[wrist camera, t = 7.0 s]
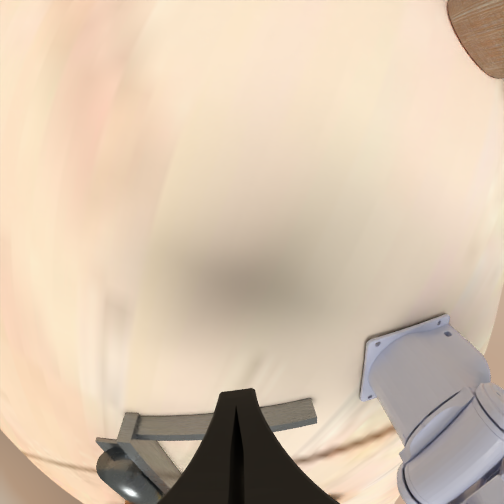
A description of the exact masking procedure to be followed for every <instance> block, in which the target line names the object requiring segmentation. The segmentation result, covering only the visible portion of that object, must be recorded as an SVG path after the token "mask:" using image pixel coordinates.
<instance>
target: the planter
mask: <svg viewBox="0 0 504 504" xmlns="http://www.w3.org/2000/svg"><path fill="white" fill-rule="evenodd" d="M448 12H449V16H450V19H451V22H452V25H453V27H454V30H455V32H456V34H457V36H458V38H459V39H460V41H461V43H462V44H463V46H464V47H465V49H466V50H467V52H468V53H469V55H470V56H471V57H472V59H473V60H474V61H475V62H476V63H477V64H478V66H479V67H480V68H481V69H482V70H484V71H485V72H486V73H487V74H489V75H490V76H492V77H494V78H498V79H499V78H504V0H449V1H448Z"/></svg>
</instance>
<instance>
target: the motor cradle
mask: <svg viewBox="0 0 504 504" xmlns="http://www.w3.org/2000/svg"><path fill="white" fill-rule="evenodd" d="M260 409H261V411H262V414H263V416H264V418H265V420H266V421H267V423H268V425H269V427H270V429H271V430H272V432H276V431H282V430H287V429H293V428H297V427H302V426H307V425H311V424H315V423H317V416H316V413H315V410H314V407H313V404H312V401H311V398H309V399H305V400H300V401H295V402H291V403H285V404H280V405H274V406H269V407H262V408H260ZM212 417H213V414H201V415H184V416H140V415H139V414H138V413H125V416H124V419H123V422H122V425H121V428H120V431H119V435H118V438H117V440H112V439H103V438H96V442H97V444H98V445H99V446H100V447H101V448H102V449H103V450H104V453H103V454H102V455H101V456H100V457H99V459H98V461H97V466H96V469H97V473H98V475H99V477H100V478H101V479H102V480H103V481H104V482H105V483H106V484H107V485H109V486H110V487H111V488H112V489H113V490H114V491H116V492H117V493H118V494H119V495H121V496H122V497H123V498H124V499H126V500H127V501H128V502H130V503H131V504H157V503H158V502H159V501H160V499H161V498H162V497H163V496H164V495H165V494H166V493H167V492H168V491H169V490H170V489H171V488H172V486H173V485H174V484H175V483H176V481H177V480H178V479H179V477H180V476H181V475H182V474H181V473H180V472H179V470H178V469H177V468H176V466H175V465H174V464H173V463H172V461H171V460H170V459H169V457H168V456H167V455H166V453H165V452H164V451H163V449H162V448H161V447H160V445H159V444H158V442H157V441H156V440H158V441H183V440H203V438H204V436H205V434H206V431H207V429H208V427H209V424H210V422H211V419H212Z"/></svg>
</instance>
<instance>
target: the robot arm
mask: <svg viewBox="0 0 504 504" xmlns="http://www.w3.org/2000/svg"><path fill="white" fill-rule="evenodd" d="M449 320H450V316H449V315H448V314H444V315H442V316H439V317H436V318H434V319H431V320H428V321H426V322H423V323H420V324H417V325H414V326H411V327H408V328H405V329H402V330H399V331H396V332H393V333H390V334H386V335H383V336H380V337H377V338H373V339H370V340H369V341H368V342H367V344H366V352H365V361H364V370H363V378H362V385H361V392H360V400H361V401H367V400H370V399H373V398H376V397H377V398H378V400H379V401H380V403H381V405H382V407H383V409H384V410H385V412H386V414H387V416H388V417H389V419H390V421H391V423H392V425H393V426H394V428H395V430H396V432H397V434H398V435H399V437H400V439H401V441H402V443H403V445H404V446H405V448H404V449H403V450H402V451H401V452H400V453H399V455H400V457H401V459H402V461H403V463H402V464H401V465H400V467H399V469H398V472H397V485H398V490H399V493H400V495H401V497H402V499H403V500H404V502H405V503H406V504H504V390H503V389H502V388H501V387H499V386H498V385H496V384H494V383H491V382H490V381H491V375H490V369H489V366H488V364H487V361H486V359H485V358H484V356H483V355H482V354H481V353H480V352H479V351H478V350H477V349H476V348H475V347H474V346H473V345H472V344H471V343H470V342H469V341H468V340H466V339H465V338H464V337H463V336H462V335H461V334H460V333H459V332H457V331H456V330H455V329H454V328H453V327H452V326H451V325H450V324H449ZM377 342H378V343H377ZM376 343H377V344H376ZM157 504H340V503H338V502H337V501H335V500H334V499H333V498H332V497H330V496H329V495H328V494H327V493H325V492H324V491H323V490H322V489H321V488H319V487H318V486H317V485H316V484H315V483H314V482H313V481H312V480H311V479H310V478H309V477H308V476H307V475H306V474H305V473H304V472H303V471H302V470H301V469H300V468H299V467H298V466H297V465H296V463H295V462H294V461H293V460H292V459H291V457H290V456H289V455H288V454H287V452H286V451H285V450H284V448H283V447H282V446H281V444H280V443H279V441H278V440H277V438H276V437H275V435H274V434H273V432H272V430H271V429H270V427H269V425H268V423H267V421H266V420H265V418H264V416H263V414H262V411H261V409H260V407H259V404H258V401H257V397H256V393H255V390H254V389H252V388H249V389H242V390H235V391H227V392H221V393H220V394H219V398H218V402H217V405H216V408H215V411H214V414H213V417H212V419H211V422H210V424H209V427H208V429H207V431H206V434H205V436H204V438H203V440H202V442H201V444H200V446H199V448H198V450H197V451H196V453H195V455H194V457H193V458H192V460H191V462H190V463H189V465H188V466H187V468H186V469H185V471H184V472H183V473H182V475H181V476H180V477H179V479H178V480H177V481H176V483H175V484H174V485H173V486H172V488H171V489H170V490H169V491H168V492H167V493H166V494H165V495H164V496H163V497H162V498H161V499H160V501H159V502H158V503H157Z"/></svg>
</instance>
